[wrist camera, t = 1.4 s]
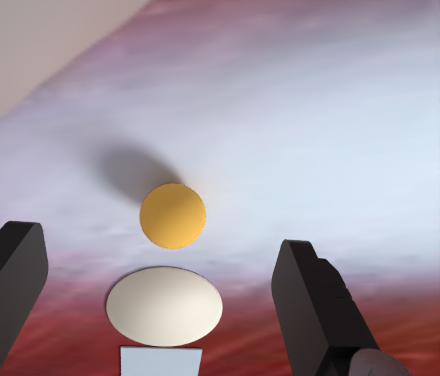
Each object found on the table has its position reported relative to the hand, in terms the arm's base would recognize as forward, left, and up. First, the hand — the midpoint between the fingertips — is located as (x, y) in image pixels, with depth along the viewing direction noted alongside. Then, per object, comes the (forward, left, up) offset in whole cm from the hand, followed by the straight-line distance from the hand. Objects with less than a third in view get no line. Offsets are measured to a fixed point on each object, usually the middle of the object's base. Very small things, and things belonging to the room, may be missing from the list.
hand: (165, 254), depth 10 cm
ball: (+9, 0, -15) cm, 18 cm away
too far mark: (+36, 0, -18) cm, 41 cm away
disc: (+24, 0, -18) cm, 30 cm away
